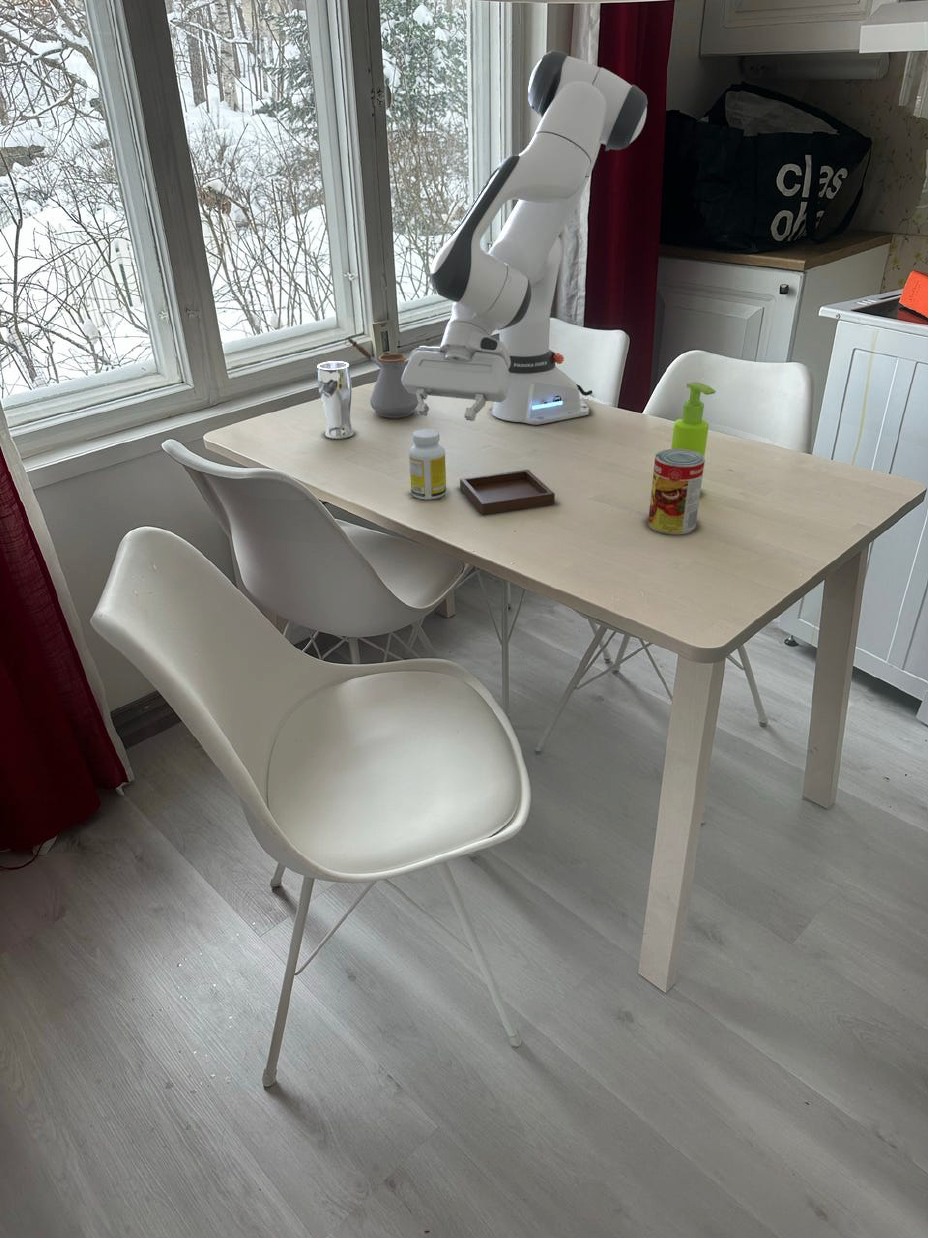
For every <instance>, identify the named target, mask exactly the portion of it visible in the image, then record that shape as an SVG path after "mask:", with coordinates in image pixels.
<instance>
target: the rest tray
mask: <svg viewBox="0 0 928 1238" xmlns="http://www.w3.org/2000/svg"><path fill="white" fill-rule="evenodd" d="M459 490H460V491H461V492H462V493H463V494H464V495H465V497H466V498H467V499H468V500H469V501H470V502H471V503H472V505H473V506H474V507H475V508H476V509H477V511H478V512H479V513H480V514H481V515H482V516H484V515H486V516H487V515H492V514H498V513H504V512H511V511H518V510H519V511H520V510H525V509H531V508H532V509H533V508H538V507H539V508H540V507H546V506H552V505H555V492H553V490H551V488H549V487H548V486H547V485H546V484H545V483H544V482H542V480H540V479H539V478H538V477H537V476H536V475H535V474H533V472H531V470H530V469H521V470H515V471H506V472H500V473H492V474H485V475H478V476H470V477H462V478H459Z"/></svg>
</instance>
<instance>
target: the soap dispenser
mask: <svg viewBox="0 0 928 1238" xmlns="http://www.w3.org/2000/svg"><path fill="white" fill-rule="evenodd" d="M686 388H689V389H690V391H689V392H690V393H689V399H688V400H686V401H685V402H683V407H682V408H683V409H682V418H679V419H676V420H675V421H674V422H673V430H672V439H671V448H670V449H685V450H691V451H695V452H697V453H700V454H701V455H703V456H704V457H705V455H706V448H707V442H708V441H707V439H708V434H709V433H708V432H709V426H710V424H709V422H708V421H706V420H704V419H703V415H704V407H705V404H704V402H702V401H701V400H700V399H701V393H702V394H704V395H712V394H713V395H714V394H716V392H717V391H716V390H715V389H714V388H712V387H711V386H709V385H707V384H705V383H700V382H689V383H686Z"/></svg>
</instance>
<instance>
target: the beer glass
mask: <svg viewBox="0 0 928 1238" xmlns="http://www.w3.org/2000/svg"><path fill="white" fill-rule="evenodd" d="M316 367H317V386H318V393H319V397H320V402H321V405H322V409H323V413H324V417H325V418H324V419H325V431H324V435H325V437H326V438H329V439H333V440H343V439H348V438H350V437H352V436H353V435H354V430H353V426H352V422H351V405H352V395H353V394H352V393H353V391H352V390H353V389H352V388H353V387H352V378H351V377H352V376H351V372H350V364H349V363H348V362H345V361H326V362H322V363H319V364H318V365H317V366H316Z"/></svg>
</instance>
